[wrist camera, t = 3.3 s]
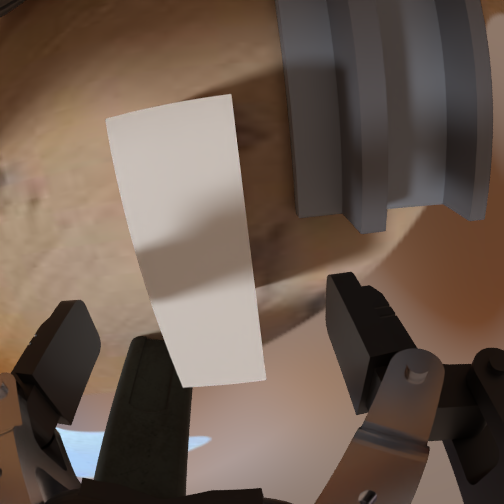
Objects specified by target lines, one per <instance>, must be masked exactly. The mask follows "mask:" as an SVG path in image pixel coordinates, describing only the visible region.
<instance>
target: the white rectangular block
mask: <svg viewBox="0 0 504 504" xmlns="http://www.w3.org/2000/svg"><path fill="white" fill-rule="evenodd" d="M105 120H106V126H107V132H108V138H109V143H110V148H111V154H112V159H113V164H114V168H115V173H116V178H117V182H118V187H119V191H120V195H121V199H122V204H123V208H124V212H125V216H126V220H127V223H128V227H129V231H130V235H131V238H132V242H133V246H134V249H135V253H136V256H137V260H138V263H139V266H140V270H141V273H142V276H143V279H144V282H145V286H146V289H147V292H148V295H149V298H150V301H151V304H152V307H153V310H154V313H155V316H156V319H157V321H158V324H159V327H160V330H161V333H162V335H163V338H164V341H165V344H166V346H167V349H168V351H169V354H170V357H171V359H172V362H173V364H174V367H175V369H176V372H177V374H178V377H179V379H180V382H181V384H182V386H183V388H184V387H201V386H213V385H214V386H215V385H226V384H237V383H246V382H255V381H263V380H266V372H265V365H264V357H263V348H262V340H261V332H260V324H259V316H258V308H257V300H256V292H255V284H254V276H253V267H252V259H251V251H250V243H249V235H248V227H247V219H246V211H245V202H244V194H243V186H242V178H241V170H240V162H239V153H238V145H237V137H236V129H235V121H234V112H233V104H232V96H231V94H227V95H220V96H213V97H206V98H199V99H193V100H187V101H182V102H176V103H171V104H166V105H161V106H156V107H152V108H147V109H143V110H138V111H134V112H130V113H126V114H122V115H118V116H114V117H110V118H107V119H105Z"/></svg>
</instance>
